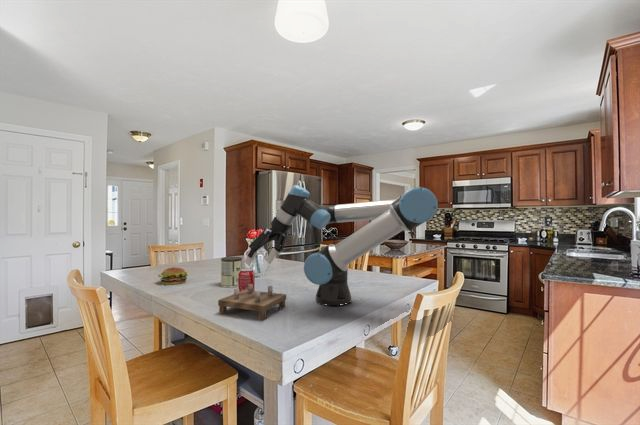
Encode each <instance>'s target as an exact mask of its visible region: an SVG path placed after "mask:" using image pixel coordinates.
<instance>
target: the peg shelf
mask: <svg viewBox="0 0 640 425" xmlns="http://www.w3.org/2000/svg"><path fill="white" fill-rule="evenodd" d="M273 291H274V290H273V286H272V285H268V286H267V291H260V290H255V291H253V284H248V290H244V291H241V292H239V289H238V288H234V289H233V294H231V295H228V296H226V297H222V298H221V299H218V302H217V306H218V307H219V309H218V310H219V311H218V314H219V315H225V314H227V309H228V308H233V309H241V310H248V311H253V312H254V311H257V312H258V320H259V321H265V320H266V319H267V311H268V310H269V309H271V308H273V307H275V306H277V305H278V309H283V310H284V309H285V308H286V300H287V293H285V294H284V293H277V292H273Z"/></svg>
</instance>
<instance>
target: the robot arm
mask: <svg viewBox="0 0 640 425" xmlns="http://www.w3.org/2000/svg"><path fill="white" fill-rule="evenodd" d="M310 194H311V193H310V192H309V191H308V189H306V188H305V187H302V186H301V185H298V184H294V185H293V186H292V188H291V189H290V191H289V192H287V195H286V197H285V199H284V200H283V202H282V204H281V206H280V208H279V209H278V211H277V213H276V214H275V216H274V217H273V219H272V221H271V223H270V225H271V226H270V228H269V229H268V228H266V227H265V228H264V229H263V230H262V232H261V233H260V234H259V235H258V236H257V237H256V238H254V240H252V242H251V243H250V244H249V245H248V247H249V249H250V250H249V252H248V254H247V256H246V257H245V260H244V262H245V264H246V265H247V266H251V264H252V263H253V260H254V259H255V257H257V256H256V255H257V254H258V251H259V250H260V249H262V247H264V246H265V245H267V243H270V242H272V241H274V242H273V243H274V244H273V246H274V247H272V248H271V250H270V251H269V253H268V254H267V257H266V259H265V261H266V262H267V263H268V264H269V265H270V264H272V263H273V260H275V257H276V255H277V254H278V253H281V252H282V250H283V249H284V247H285V243H286V240H287V236H288V234H289V232H288V231H289V229H290V228H291V225H293V224H294V221H295V220H296V218H297V216H300V217H301V218H302V219H304V220H305V221H306V222H308V223H310V225H312V227H315V228H317V229H318V230H322V229H324V228H325V227H326V226H327V225H329V224H335V223H336V224H338V223H347V222H349V223H350V222H363V221H370V222H369V223H367V224H366V225H364V226H363V227H361V228H360V229H358V230H356V231H355V232H353V233H352V234H351V235H349V236H347V237H345V239H343V240H342V241H339V242H338V243H336V244H332V243H329V244H328V245H326V246H321V247H320V250H319V251H317V252H314V253H311V254H310V255H309V256H307V257H306V259H305V261H304V263H303V272H304V275H305V278H306V279H307V280H308V281H309V282H311V283H312V284H314V285H316V286H317V285H318V288H317V291H316V294H315V302H316V303H317V304H319V303H320V305H322V304H327V305H340V304H345V303H349V302H350V301H351V302H352V294H351V292H350V287H349V285H348V284H349V283H348V275H349V274H348V270H349V269H348V268H349V265H350V264H352V263H354V261H356V260H358V259H359V258H361V257H362V256H364V255H366V254H368V253H369V252H371V251H373V250H374V249H376V248H377V247H378V246H381V245H382V244H383V243H385V242H386V241H389V240H390V239H392V238H394V237H395V236H396V235H399V233H401V232H403V231H405V232H411V231H412V230H413V231H414V229H416V228H418V227H420V226H421V225H422V224H424V223H426V222H428V221H430V220H431V219H432V218H434V216H436V214H437V212H438V208H439V202H438V198H437V197H436V195H435V194H434V193H433V191H431V190H430V189H428V188H426V187H421V186H416V187H413V188H408V190H406V191H405V192H404V193H402V195H399V196H398V197H397V198H393V199H384V200H375V201H374V200H372V201H363V202H355V203H354V202H353V203H352V202H351V203H343V204H331V205H321V204H317V203H316V202H315V201H313V200H312V199H310V198H309V197H310ZM327 305H326V306H327Z"/></svg>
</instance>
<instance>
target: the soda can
mask: <svg viewBox="0 0 640 425" xmlns="http://www.w3.org/2000/svg"><path fill="white" fill-rule="evenodd" d="M255 276H256V274H255V272H254V268H242V269H240V272H239V277H238V287H237V289H239V292H241V291H244V290H248V284H253V291H256V290H255V288H256V287H255V284H256V283H255V282H256V279H255V278H256V277H255Z"/></svg>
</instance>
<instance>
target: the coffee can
mask: <svg viewBox="0 0 640 425" xmlns="http://www.w3.org/2000/svg"><path fill="white" fill-rule="evenodd" d="M242 259H243V257H240V256H226V257H225V256H224V257H221V258H220V260H221V262H220V263H221V265H220V266H221V269H220V270H221V271H220V272H221V274H220V275H221V277H220V278H221V280H220V281H221V282H220V286H221V287H222V288H226V289H227V288H238V277H239V272H240V269H243V267H242V264H243V262H242Z"/></svg>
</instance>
